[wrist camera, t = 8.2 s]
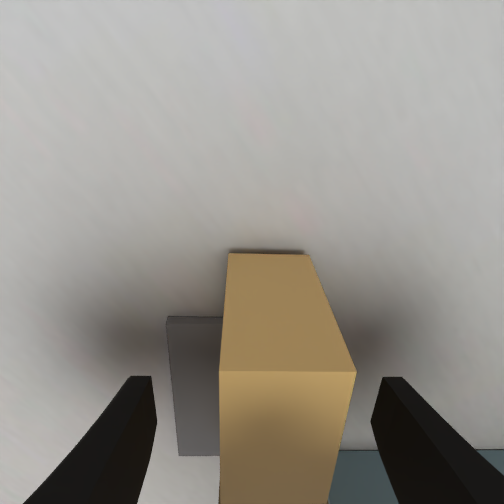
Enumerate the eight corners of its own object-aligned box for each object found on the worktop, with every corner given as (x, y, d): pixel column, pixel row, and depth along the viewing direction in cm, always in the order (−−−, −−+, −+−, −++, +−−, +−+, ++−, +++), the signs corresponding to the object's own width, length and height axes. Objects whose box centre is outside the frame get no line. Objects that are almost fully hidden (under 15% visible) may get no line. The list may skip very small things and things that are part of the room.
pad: (330, 318, 12) (333, 325, 12) (309, 446, 16) (310, 455, 15) (168, 316, 12) (166, 323, 12) (180, 447, 15) (178, 456, 15)
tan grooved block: (310, 254, 11) (359, 371, 6) (287, 437, 15) (308, 590, 10) (227, 253, 11) (215, 371, 6) (226, 438, 15) (219, 592, 10)
